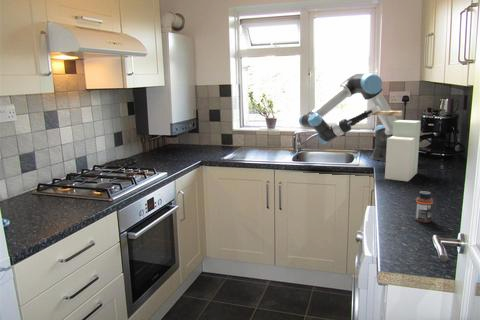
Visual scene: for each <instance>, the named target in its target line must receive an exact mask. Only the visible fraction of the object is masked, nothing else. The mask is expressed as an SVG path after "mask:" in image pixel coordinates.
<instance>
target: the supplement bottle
mask: <svg viewBox="0 0 480 320" xmlns="http://www.w3.org/2000/svg"><path fill="white" fill-rule="evenodd" d="M418 194H419V195H418V196H417V197H416V198H415V209H414V210H415V212H414V213H415V214H414V220H416V221H417V222H419V223H422V224H423V223H424V224H425V223H431V222H432V220H433V206H434V200H433V198H432V197H431V196H432V193H431V192H430V191H427V190H426V191H425V190H423V191H422V190H420V191H419V193H418Z"/></svg>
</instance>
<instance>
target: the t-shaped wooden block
mask: <svg viewBox="0 0 480 320" xmlns="http://www.w3.org/2000/svg"><path fill="white" fill-rule="evenodd" d="M366 111H367V110H364V112H366ZM364 112H363V113H364ZM378 115H387V116H395V117H400V116H403V111H402V110H392V111H377V112H375V113H373V114H371V115H370V116H378Z"/></svg>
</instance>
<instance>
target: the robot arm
mask: <svg viewBox="0 0 480 320" xmlns="http://www.w3.org/2000/svg"><path fill="white" fill-rule="evenodd" d="M382 84H383V80H382V78H381V77H380V76H379V75H378V74H376V73H372V72H368V73H357V74H354V75H352V76H350V77H348V78H347V79H346V80H344V82H342V83H341V84H340V85H339V87H338V88H337V89H336V90H335V91H334V92H333V93H332V94H330V95H329V96H328V97H326V98H325V99H324V100H322V101H321V102H320V103H319V104H318V105H317V106H315V107H314V108H313V109H312V110H310V111H309V112H308V113H306V114H302V115H301V116H300V117H299V119H298V121H299V125H300V126H302V127H304V128H308V129H311V130H315V132H316V133H317V134H316V136H317V137H316V138H317V139H318V141H319V143H320V144H328V143H330V142H331V141H333V140H335V139H337V138H338V137H342V135H344V134H347V133H349V132H350V131H351V130H352V126H355V125H357V124H358V123H360V122H361V121H363V120H365V119H367V118H369V117H370V116H372V115H371V114H373V113H375V112H377V111H393V110H392V109H391V107H390V105H389V104H388V101H387V100H386V98H385V97H384V95H383V93H382V92H383V85H382ZM356 94H361V95H362V97H363V99H364V100H366V101H368V102H369V104H370V105H371V107H372V108H370V109H367V110H365V111H366V112H363V113H360V114H359V115H356V116H354V117H352V118H349V119H346V118H343V119H341V120H339V121H337V122H336V123H334V124H332V125H329V124H328V123H327V122H326V121H325V119H324V117H325V116H326V115H327V114H329V112H331V111H332V110H333V109H334V108H336V107H337V106H338V105H339V104H341V103H342V102H343V101H345V100H346V99H347V98H350V97H352V96H353V95H356ZM377 117H378V119H379V121H380V122H381V124H382V125H381V124H380V125H377V126H376V127H375V137H374V138H375V141H374V142H375V143H374V148H373V151H372V154H371V160H373V161H378V160H380V161H379V162H386V148H387V138H389V137H392V135H393V122H394V121H397V120H398V119H397V118H396V117H397V116H387V115H377Z"/></svg>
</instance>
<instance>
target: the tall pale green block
mask: <svg viewBox="0 0 480 320" xmlns="http://www.w3.org/2000/svg"><path fill="white" fill-rule="evenodd" d="M420 134H421V120H413V119H412V120H411V119H397V121H394V122H393V135H392V137H389V138H387V148H386V161H385V168H384V169H385V171H384V179H385V180H392V181H403V182H409V181H410V180H411V179H413V177H415V175H417V174H418V166H419V165H418V164H419V163H418V161H419V148H420V136H421V135H420Z"/></svg>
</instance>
